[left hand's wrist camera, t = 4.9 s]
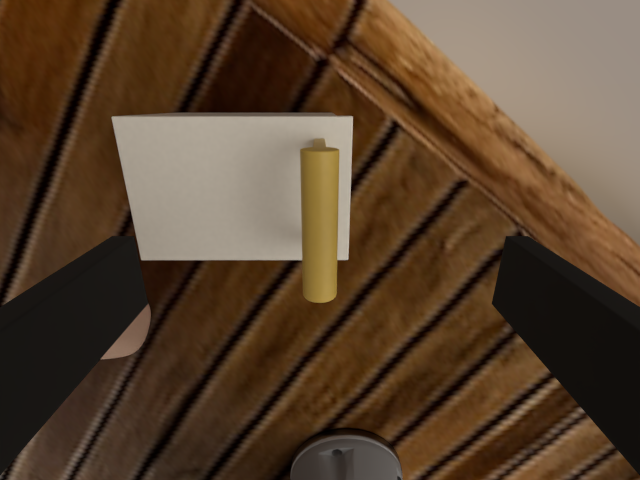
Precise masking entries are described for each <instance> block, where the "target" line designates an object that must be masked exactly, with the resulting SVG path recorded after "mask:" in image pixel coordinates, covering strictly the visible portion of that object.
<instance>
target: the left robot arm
mask: <svg viewBox="0 0 640 480" xmlns="http://www.w3.org/2000/svg"><path fill="white" fill-rule="evenodd" d="M147 305H148V301H147V296H146V291H145V287H144V282H143V277H142V272H141V268H140V263H139V258H138V253H137V249H136V244H135V239H134V236H112V237H110V238H109V239H107V240H106V241H104V242H102V243H101V244H99V245H98V246H96V247H94V248H93V249H91V250H90V251H88V252H87V253H85V254H83V255H82V256H80V257H79V258H77V259H76V260H74V261H72V262H71V263H69V264H68V265H66V266H64V267H63V268H61V269H60V270H58V271H57V272H55V273H53V274H52V275H50V276H49V277H47V278H46V279H44V280H42V281H41V282H39V283H38V284H36V285H34V286H33V287H31V288H30V289H28V290H27V291H25V292H23V293H22V294H20V295H19V296H17V297H16V298H14V299H12V300H11V301H9V302H8V303H6V304H4V305H3V306H1V307H0V475H1V474H2V473H3V471H4V470H5V469H6V468H7V467H8V466H9V464H10V463H11V462H12V461H13V460H14V459H15V457H16V456H17V455H18V454H19V453H20V452H21V451H22V449H23V448H24V447H25V446H26V445H27V444H28V442H29V441H30V440H31V439H32V438H33V437H34V435H35V434H36V433H37V432H38V431H39V430H40V429H41V427H42V426H43V425H44V424H45V423H46V422H47V420H48V419H49V418H50V417H51V416H52V415H53V413H54V412H55V411H56V410H57V409H58V408H59V406H60V405H61V404H62V403H63V402H64V401H65V400H66V398H67V397H68V396H69V395H70V394H71V393H72V391H73V390H74V389H75V388H76V387H77V386H78V384H79V383H80V382H81V381H82V380H83V379H84V378H85V376H86V375H87V374H88V373H89V372H90V371H91V369H92V368H93V367H94V366H95V365H96V364H97V362H98V361H99V360H100V359H101V358H102V357H103V356H104V354H105V353H106V352H107V351H108V350H109V349H110V347H111V346H112V345H113V344H114V343H115V342H116V340H117V339H118V338H119V337H120V336H121V335H122V333H123V332H124V331H125V330H126V329H127V328H128V327H129V325H130V324H131V323H132V322H133V321H134V320H135V318H136V317H137V316H138V315H139V314H140V313H141V311H142V310H143V309H144V308H145V307H146V306H147ZM492 305H493V306H494V307H495V308H496V309H497V310H498V311H499V313H500V314H501V315H502V316H503V317H504V318H505V320H506V321H507V322H508V323H509V324H510V325H511V327H512V328H513V329H514V330H515V331H516V332H517V333H518V335H519V336H520V337H521V338H522V339H523V340H524V342H525V343H526V344H527V345H528V346H529V347H530V349H531V350H532V351H533V352H534V353H535V354H536V356H537V357H538V358H539V359H540V360H541V361H542V362H543V364H544V365H545V366H546V367H547V368H548V369H549V371H550V372H551V373H552V374H553V375H554V376H555V378H556V379H557V380H558V381H559V382H560V383H561V384H562V386H563V387H564V388H565V389H566V390H567V391H568V393H569V394H570V395H571V396H572V397H573V398H574V400H575V401H576V402H577V403H578V404H579V405H580V406H581V408H582V409H583V410H584V411H585V412H586V413H587V415H588V416H589V417H590V418H591V419H592V420H593V422H594V423H595V424H596V425H597V426H598V427H599V429H600V430H601V431H602V432H603V433H604V434H605V435H606V437H607V438H608V439H609V440H610V441H611V442H612V444H613V445H614V446H615V447H616V448H617V449H618V451H619V452H620V453H621V454H622V455H623V456H624V457H625V459H626V460H627V461H628V462H629V463H630V464H631V466H632V467H633V468H634V469H635V470H636V471H637V473H638V474H639V475H640V307H639V306H637V305H636V304H634V303H632V302H631V301H629V300H628V299H626V298H624V297H623V296H621V295H620V294H618V293H617V292H615V291H613V290H612V289H610V288H609V287H607V286H606V285H604V284H602V283H601V282H599V281H598V280H596V279H594V278H593V277H591V276H590V275H588V274H587V273H585V272H583V271H582V270H580V269H579V268H577V267H576V266H574V265H572V264H571V263H569V262H568V261H566V260H564V259H563V258H561V257H560V256H558V255H557V254H555V253H553V252H552V251H550V250H549V249H547V248H546V247H544V246H542V245H541V244H539V243H538V242H536V241H534V240H533V239H531V238H530V237H528V236H506V239H505V244H504V249H503V253H502V258H501V263H500V268H499V272H498V277H497V282H496V286H495V291H494V296H493V301H492ZM290 479H291V480H402V469H401V465H400V460H399V457H398V454H397V452H396V451H395V449H394V448H393V447H392V446H391V445H390V444H389V443H388V442H387V441H386V440H384V439H383V438H381V437H379V436H377V435H375V434H372V433H369V432H366V431H361V430H354V429H340V430H333V431H328V432H325V433H322V434H319V435H317V436H314V437H313V438H311V439H309V440H308V441H306V442H305V443H304V444H303V445H302V446H301V447H300V448H299V449H298V450H297V451H296V453H295V455H294V457H293V460H292V464H291V475H290Z"/></svg>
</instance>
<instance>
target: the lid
mask: <svg viewBox="0 0 640 480" xmlns="http://www.w3.org/2000/svg"><path fill="white" fill-rule="evenodd" d="M112 122H113V127H114V132H115V137H116V142H117V146H118V151H119V156H120V161H121V165H122V170H123V175H124V180H125V185H126V189H127V194H128V199H129V204H130V208H131V213H132V218H133V223H134V228H135V232H136V237H137V242H138V247H139V252H140V256H141V260H302V272H303V296H304V297H305V298H306V299H307V300H309V301H311V302H316V303H323V302H328V301H331V300H333V299H334V298H335V297H336V294H337V260H348V254H349V224H350V193H351V163H352V132H353V117H352V116H112Z"/></svg>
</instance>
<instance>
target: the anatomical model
mask: <svg viewBox="0 0 640 480" xmlns="http://www.w3.org/2000/svg"><path fill="white" fill-rule="evenodd" d="M150 318H151V310H150V306H149V304H148V305H147V306H146V307H145V308H144V309H143V310H142V311H141V313H140V314H139V315H138V316H137V317H136V318H135V320H134V321H133V322H132V323H131V324H130V325H129V327H128V328H127V329H126V330H125V331H124V332H123V333H122V335H121V336H120V337H119V338H118V339H117V340H116V342H115V343H114V344H113V345H112V346H111V347H110V349H109V350H108V351H107V352H106V353H105V354H104V356H103V357H102V358H101V359H111V358H119V357H124V356H128V355H130V354H133V353H134V352H136V351H137V350H138V349H139V348H140V347H141V346H142V344H143V342H144V341H145V338H146V336H147V333H148V329H149V325H150Z"/></svg>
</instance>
